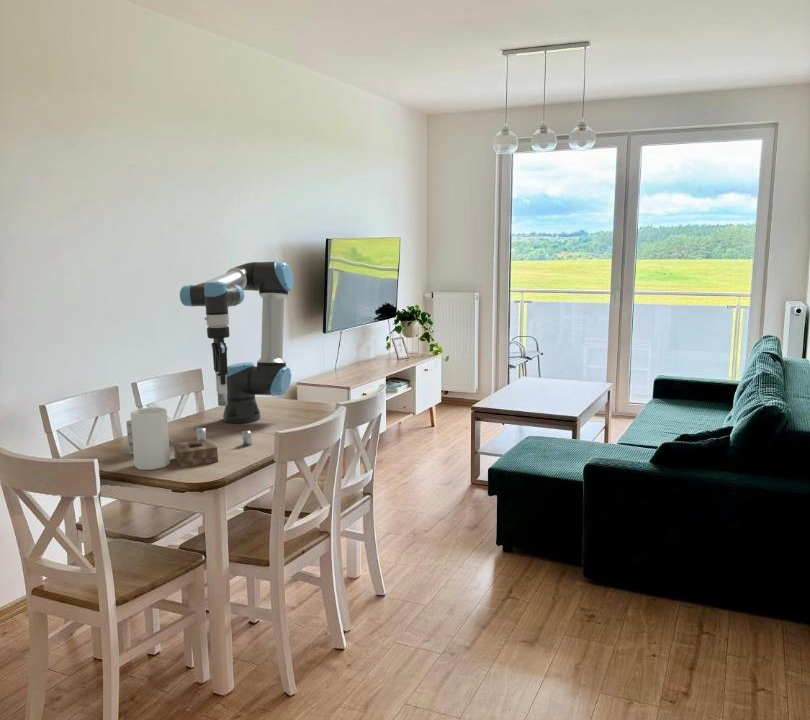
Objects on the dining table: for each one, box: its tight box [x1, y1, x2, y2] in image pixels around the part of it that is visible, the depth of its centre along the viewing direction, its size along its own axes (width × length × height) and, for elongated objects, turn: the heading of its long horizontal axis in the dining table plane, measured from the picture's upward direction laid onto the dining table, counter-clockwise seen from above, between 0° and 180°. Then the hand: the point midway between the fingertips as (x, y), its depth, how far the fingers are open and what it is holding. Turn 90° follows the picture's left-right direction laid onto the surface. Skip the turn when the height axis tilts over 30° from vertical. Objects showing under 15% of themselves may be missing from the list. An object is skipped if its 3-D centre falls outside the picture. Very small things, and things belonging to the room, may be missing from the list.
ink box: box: [126, 419, 134, 455], centre depth 261 cm, size 9×5×12 cm, turn 66°
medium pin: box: [195, 427, 207, 441], centre depth 262 cm, size 3×3×8 cm
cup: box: [130, 406, 171, 471], centre depth 246 cm, size 11×11×18 cm
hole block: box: [173, 438, 219, 468], centre depth 252 cm, size 12×12×5 cm
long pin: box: [215, 371, 227, 407], centre depth 263 cm, size 3×3×12 cm
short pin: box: [241, 429, 253, 447], centre depth 270 cm, size 3×3×5 cm
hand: (222, 392), depth 263 cm, fingers closed on long pin, 3 cm apart
